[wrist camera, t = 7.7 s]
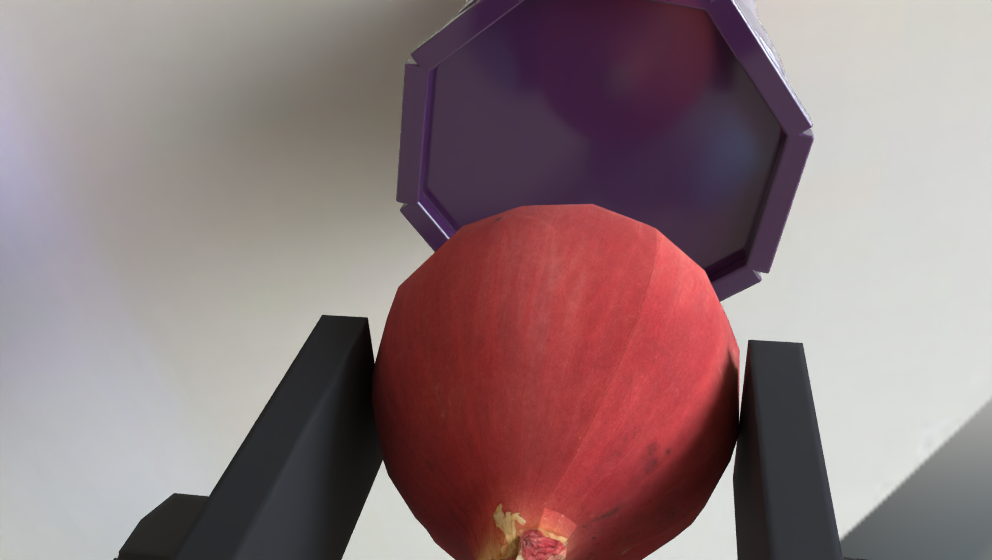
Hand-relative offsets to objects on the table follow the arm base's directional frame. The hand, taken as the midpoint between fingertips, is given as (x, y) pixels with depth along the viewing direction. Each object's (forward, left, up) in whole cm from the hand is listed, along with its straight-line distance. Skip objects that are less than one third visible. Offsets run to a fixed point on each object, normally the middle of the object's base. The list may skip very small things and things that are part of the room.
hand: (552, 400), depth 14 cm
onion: (0, 0, -4) cm, 4 cm away
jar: (0, 0, -21) cm, 21 cm away
